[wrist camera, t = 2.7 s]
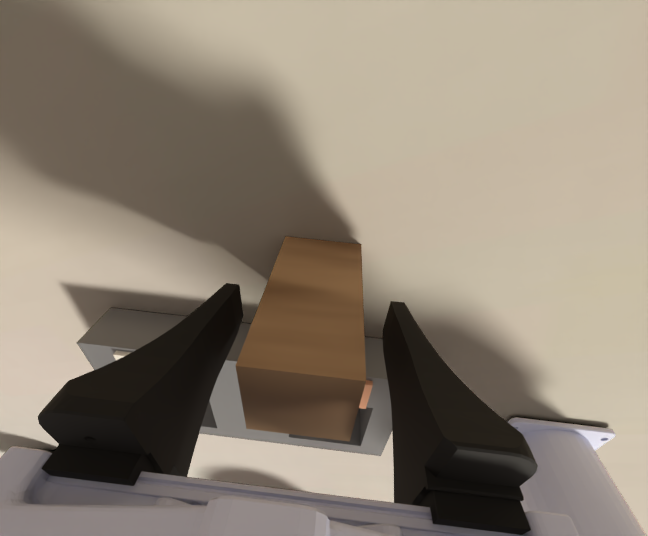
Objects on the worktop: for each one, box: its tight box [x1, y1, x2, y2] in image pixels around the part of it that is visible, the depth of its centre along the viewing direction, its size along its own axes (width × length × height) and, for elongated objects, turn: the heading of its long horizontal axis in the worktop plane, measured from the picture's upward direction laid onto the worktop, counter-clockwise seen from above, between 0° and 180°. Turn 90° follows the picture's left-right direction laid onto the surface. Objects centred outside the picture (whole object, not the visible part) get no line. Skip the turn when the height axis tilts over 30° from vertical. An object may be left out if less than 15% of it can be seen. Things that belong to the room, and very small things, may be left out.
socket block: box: [77, 308, 392, 456], centre depth 21 cm, size 10×20×3 cm, turn 86°
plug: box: [236, 236, 366, 441], centre depth 13 cm, size 4×4×8 cm
